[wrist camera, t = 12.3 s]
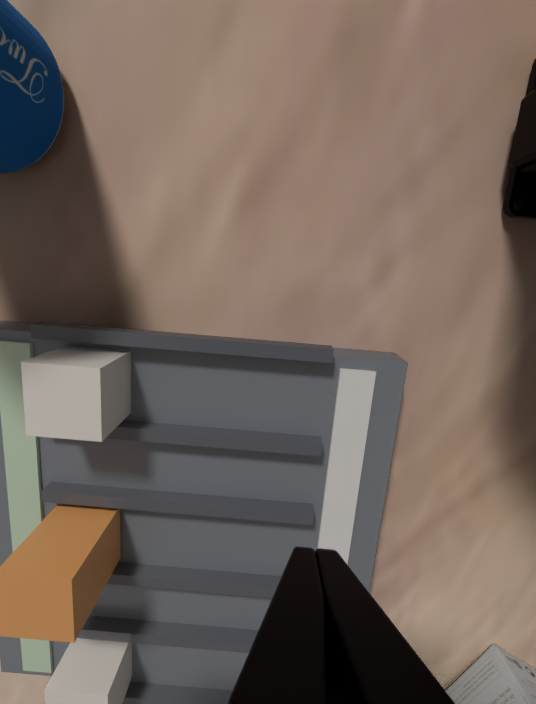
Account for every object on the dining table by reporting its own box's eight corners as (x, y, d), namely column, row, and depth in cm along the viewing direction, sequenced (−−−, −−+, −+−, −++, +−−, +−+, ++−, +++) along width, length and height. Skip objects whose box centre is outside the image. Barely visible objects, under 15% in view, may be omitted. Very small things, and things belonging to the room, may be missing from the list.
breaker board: (395, 343, 19) (438, 370, 14) (343, 672, 23) (361, 779, 18) (-3, 310, 19) (-102, 325, 14) (25, 644, 23) (-42, 743, 19)
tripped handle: (120, 506, 19) (71, 580, 14) (120, 557, 19) (74, 642, 15) (60, 501, 19) (-7, 573, 14) (63, 552, 19) (0, 636, 15)
